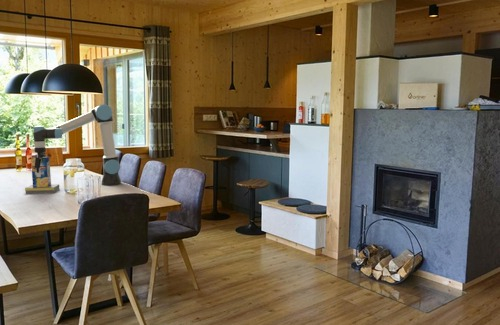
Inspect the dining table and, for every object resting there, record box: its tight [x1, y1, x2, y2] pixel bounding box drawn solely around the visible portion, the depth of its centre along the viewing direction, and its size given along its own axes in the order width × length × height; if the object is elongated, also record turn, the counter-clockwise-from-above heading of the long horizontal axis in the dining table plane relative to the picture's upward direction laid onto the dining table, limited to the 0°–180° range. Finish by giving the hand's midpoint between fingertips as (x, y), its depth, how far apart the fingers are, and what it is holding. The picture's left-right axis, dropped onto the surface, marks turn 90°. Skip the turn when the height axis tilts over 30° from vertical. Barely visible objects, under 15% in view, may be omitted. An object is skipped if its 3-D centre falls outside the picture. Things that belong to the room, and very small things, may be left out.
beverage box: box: [30, 156, 52, 187], centre depth 332 cm, size 7×11×22 cm, turn 96°
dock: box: [24, 183, 60, 195], centre depth 333 cm, size 20×14×4 cm
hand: (41, 175), depth 332 cm, fingers open, 13 cm apart
